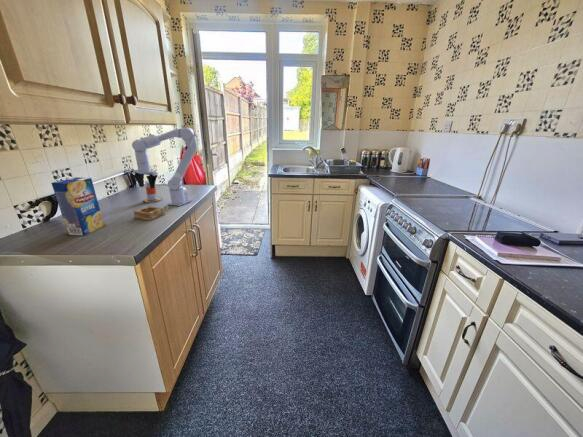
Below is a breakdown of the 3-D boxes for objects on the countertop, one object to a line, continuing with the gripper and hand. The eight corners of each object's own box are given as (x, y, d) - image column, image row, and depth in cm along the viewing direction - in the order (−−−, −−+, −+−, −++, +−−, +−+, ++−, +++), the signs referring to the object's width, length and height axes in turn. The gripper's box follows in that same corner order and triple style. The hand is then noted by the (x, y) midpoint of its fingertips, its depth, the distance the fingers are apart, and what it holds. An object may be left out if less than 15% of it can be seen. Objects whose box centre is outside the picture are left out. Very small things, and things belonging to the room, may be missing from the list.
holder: (149, 212, 130) (148, 206, 128) (164, 214, 127) (162, 208, 126) (134, 218, 121) (133, 211, 120) (149, 220, 119) (148, 213, 118)
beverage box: (104, 225, 112) (91, 177, 104) (83, 235, 102) (67, 183, 94) (90, 224, 113) (76, 177, 105) (68, 234, 102) (50, 182, 95)
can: (152, 197, 153) (149, 180, 149) (159, 198, 151) (157, 181, 147) (145, 199, 148) (142, 181, 144) (152, 201, 147) (149, 183, 143)
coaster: (152, 197, 155) (152, 197, 155) (164, 199, 153) (164, 198, 153) (140, 201, 147) (140, 200, 147) (152, 203, 145) (152, 202, 145)
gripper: (126, 162, 131) (131, 187, 136) (147, 164, 128) (151, 190, 132) (137, 161, 138) (141, 184, 143) (158, 163, 134) (161, 187, 139)
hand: (147, 187), depth 138 cm, fingers open, 7 cm apart
